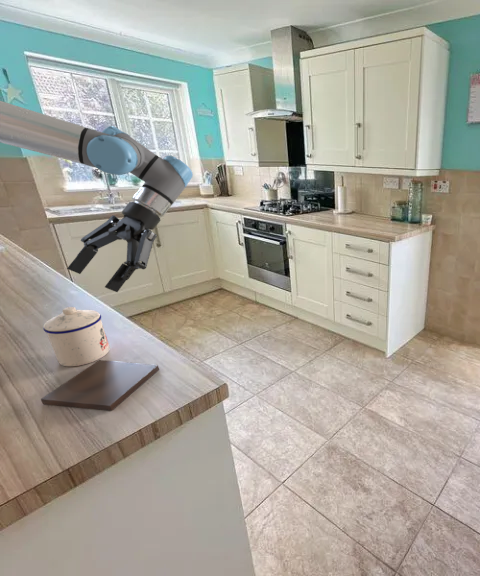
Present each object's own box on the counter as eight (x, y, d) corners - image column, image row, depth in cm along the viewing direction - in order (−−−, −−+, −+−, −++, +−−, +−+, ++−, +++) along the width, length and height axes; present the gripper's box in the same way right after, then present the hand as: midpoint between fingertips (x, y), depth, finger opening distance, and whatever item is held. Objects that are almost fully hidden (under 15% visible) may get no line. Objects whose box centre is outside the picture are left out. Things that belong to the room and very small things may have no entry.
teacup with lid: (116, 355, 73) (102, 308, 68) (61, 373, 66) (41, 323, 62) (102, 335, 80) (88, 292, 75) (51, 350, 73) (32, 303, 69)
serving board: (42, 404, 59) (40, 399, 58) (100, 364, 70) (99, 359, 69) (111, 410, 58) (109, 405, 58) (159, 369, 69) (158, 365, 69)
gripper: (192, 231, 84) (141, 303, 78) (126, 205, 91) (74, 270, 85) (170, 214, 77) (112, 292, 71) (100, 188, 84) (42, 257, 78)
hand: (91, 280), depth 78 cm, fingers open, 13 cm apart
